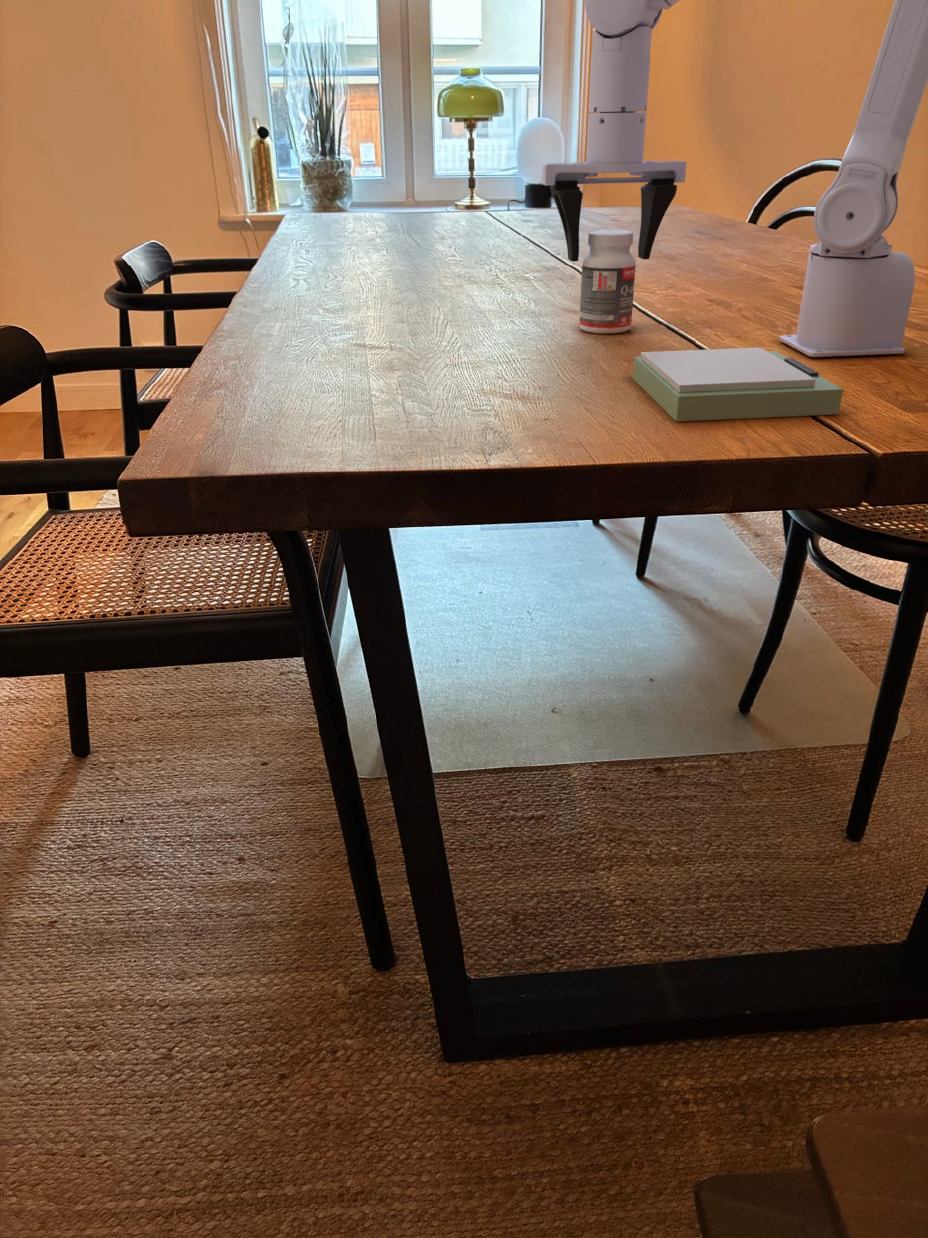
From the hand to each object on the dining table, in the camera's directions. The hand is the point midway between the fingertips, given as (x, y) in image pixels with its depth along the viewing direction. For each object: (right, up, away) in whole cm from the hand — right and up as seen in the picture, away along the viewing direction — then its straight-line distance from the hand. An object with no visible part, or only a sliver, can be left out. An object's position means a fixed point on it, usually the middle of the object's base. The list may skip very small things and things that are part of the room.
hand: (608, 259), depth 95 cm
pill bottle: (0, -7, +4) cm, 8 cm away
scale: (+7, -20, -20) cm, 29 cm away
